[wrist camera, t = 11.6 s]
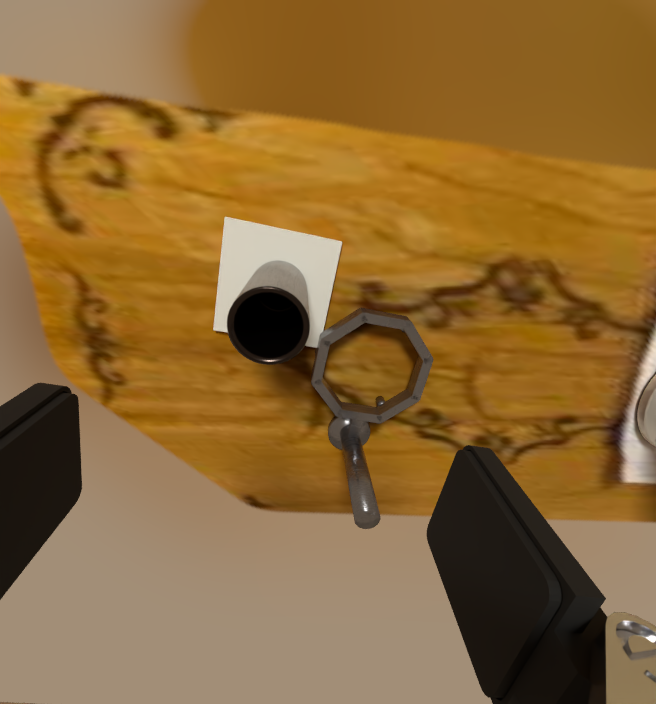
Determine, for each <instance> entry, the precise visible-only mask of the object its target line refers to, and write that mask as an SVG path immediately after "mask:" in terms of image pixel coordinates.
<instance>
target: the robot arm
mask: <svg viewBox="0 0 656 704" xmlns="http://www.w3.org/2000/svg"><path fill="white" fill-rule="evenodd" d="M637 422H638V426H639V430H640V432H641V434H642V435H643V437H644V438H645V439H646V440H647V441H648V442H649V443H650V444H652V445H653V446H655V447H656V375H655V376H654V377H653V378H652V379H651V381H650V382H649V384H648V385H647V387H646V389H645V390H644V392H643V395H642V397H641V400H640V403H639V407H638V412H637ZM81 489H82V478H81V453H80V429H79V405H78V397H77V395H75V394H72V393H71V390H70V388H68V387H67V386H59V385H53V384H46V383H37V384H34V385H33V386H31V387H30V388H28V389H27V390H25V391H23V392H22V393H20V394H19V395H17V396H16V397H14V398H13V399H11V400H10V401H8V402H6V403H5V404H3V405H2V406H0V599H1V598H2V597H3V595H4V594H5V593H6V591H7V590H8V589H9V588H10V587H11V585H12V584H13V583H14V581H15V580H16V579H17V578H18V576H19V575H20V574H21V573H22V571H23V570H24V569H25V567H26V566H27V565H28V564H29V562H30V561H31V560H32V558H33V557H34V556H35V554H36V553H37V552H38V551H39V550H40V548H41V547H42V545H43V544H44V543H45V542H46V541H47V539H48V538H49V537H50V536H51V534H52V533H53V532H54V530H55V529H56V528H57V526H58V525H59V524H60V523H61V522H62V520H63V519H64V518H65V516H66V515H67V514H68V513H69V511H70V510H71V509H72V507H73V506H74V505H75V504H76V502H77V500H78V498H79V496H80V493H81ZM427 540H428V544H429V546H430V549H431V552H432V554H433V557H434V560H435V563H436V565H437V568H438V571H439V574H440V577H441V579H442V582H443V585H444V588H445V590H446V593H447V596H448V599H449V601H450V604H451V607H452V609H453V612H454V615H455V618H456V621H457V623H458V626H459V629H460V631H461V634H462V637H463V640H464V642H465V645H466V648H467V651H468V654H469V656H470V659H471V662H472V665H473V667H474V670H475V673H476V676H477V678H478V681H479V684H480V686H481V688H482V691H483V692H484V694H485V695H486V696H487V697H490V698H491V700H492V703H493V704H656V627H655V626H654V625H653V624H651V623H649V622H647V621H645V620H643V619H641V618H639V617H637V616H634V615H631V614H628V613H625V612H615V613H613V614H611V615H609V616H608V617H607V616H606V615H605V613H604V612H603V611H602V609H601V608H600V607H601V605H602V604H603V602H604V601H605V599H606V598H605V597H604V596H603V594H602V593H601V592H600V590H599V589H598V588H597V586H596V585H595V584H594V582H593V581H592V580H591V579H590V577H589V576H588V575H587V573H586V572H585V571H584V569H583V568H582V567H581V566H580V564H579V563H578V562H577V560H576V559H575V558H574V557H573V555H572V554H571V553H570V551H569V550H568V549H567V547H566V546H565V545H564V543H563V542H562V541H561V539H560V538H559V537H558V536H557V534H556V533H555V532H554V531H553V529H552V528H551V527H550V525H549V524H548V523H547V521H546V520H545V519H544V517H543V516H542V515H541V513H540V512H539V511H538V509H537V508H536V507H535V506H534V504H533V503H532V502H531V500H530V499H529V498H528V496H527V495H526V494H525V493H524V491H523V490H522V489H521V487H520V486H519V485H518V483H517V482H516V481H515V480H514V478H513V477H512V476H511V474H510V473H509V472H508V470H507V469H506V468H505V466H504V465H503V464H502V463H501V461H500V460H499V459H498V457H497V456H496V455H495V453H494V452H493V451H492V450H491V449H489V448H484V447H477V446H470V445H468V446H465V447H464V448H463V450H459V451H458V452H457V453H456V455H455V458H454V461H453V463H452V466H451V468H450V471H449V473H448V476H447V478H446V481H445V484H444V486H443V489H442V491H441V494H440V496H439V499H438V501H437V504H436V507H435V509H434V512H433V514H432V517H431V519H430V522H429V524H428V528H427ZM0 704H33V703H8V702H0Z"/></svg>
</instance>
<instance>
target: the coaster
mask: <svg viewBox="0 0 656 704" xmlns="http://www.w3.org/2000/svg"><path fill="white" fill-rule="evenodd" d="M341 246H342V241H338V240H333V239H328V238H324V237H319V236H314V235H310V234H305V233H300V232H296V231H291V230H286V229H281V228H277V227H272V226H267V225H263V224H258V223H253V222H249V221H244V220H239V219H235V218H230V217H225V221H224V230H223V240H222V250H221V260H220V269H219V279H218V289H217V299H216V309H215V318H214V328H213V330H216V331H221V332H227V333H228V331H227V316H228V312H229V310H230V307H231V305H232V304H233V302H234V301H235V299H236V298H237V296H238V295H239V294H240V292H241V291H242V289H243V288H244V287H245V285H246V284H247V282H248V281H249V279H250V278H251V277H252V275H253V274H254V272H255V271H256V270H257V269H258V268H259V267H260V266H262V265H263V264H265V263H267V262H270V261H276V260H280V261H286V262H289V263H291V264H293V265H294V266H296V267H297V268H298V269H299V270H300V271H301V273H302V274H303V276H304V278H305V281H306V284H307V292H308V304H309V316H310V333H309V337H308V340H307V342H306V344H305V346H309V347H315V348H317V345H318V340H319V336H320V333H322V332H323V330H324V325H325V321H326V316H327V311H328V307H329V302H330V297H331V293H332V288H333V283H334V279H335V274H336V269H337V264H338V260H339V255H340V250H341Z"/></svg>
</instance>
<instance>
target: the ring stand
mask: <svg viewBox="0 0 656 704" xmlns="http://www.w3.org/2000/svg"><path fill="white" fill-rule="evenodd" d="M363 323H369V324H375V325H380V326H386V327H391V328H396V329H401V331H402V332H404V333H405V334H406V335H407V337H408V339H409V340H410V342H411V344H412V345H413V347H414V348H415V350H416V352H417V353H418V358H417V361H416V364H415V367H414V370H413V374H412V377H411V380H410V383H409V386H408V389H406V390H404V391H403V392H401V393H399V394H398V395H396V396H394V397H393V398H391V399H389V400H388V401H386V402H385V400H384V398H383V397H382V396H378V397H377V398H376V403H377V407H371V406H365V405H358V404H352V403H345V402H341V401H340V400H339V398H338V397H337V396H336V394H335V393H334V392H333V390H332V389H331V388H330V386H329V385H328V384H327V382H326V381H325V380H324V378H323V373H324V368H325V364H326V359H327V355H328V350H329V346H330V344H332V343H334V342H335V341H337V340H338V339H340V338H341V337H343V336H345V335H346V334H348V333H349V332H351V331H352V330H354V329H356V328H357V327H359V326H360V325H362V324H363ZM432 362H433V357H432V356H431V354H430V352H429V351H428V349H427V347H426V345H425V344H424V342H423V340H422V339H421V337H420V335H419V334H418V332H417V330H416V329H415V327H414V325H413V323H412V322H411V321H410V320H409V319H408V318H407V317H406V316H402V315H396V314H391V313H386V312H381V311H375V310H370V309H365V308H361V309H360V308H359V309H358V310H356V311H355V312H353V313H351V314H350V315H348V316H347V317H345V318H344V319H342V320H341V321H339V322H337V323H336V324H334V325H333V326H331V327H330V328H328V329H327V330H325V331H324V332H322V333H320V336H319V340H318V345H317V348H316V349H315V359H314V364H313V369H312V374H311V383H312V385H313V386H314V388H315V389H316V390H317V392H318V393H319V394H320V396H321V397H322V398H323V400H324V401H325V402H326V404H327V405H328V406H329V407H330V409H331V410H332V411H333V413H334V414H335V415H336V416H335V417H334V418H333V419H332V420H331V422H330V424H329V427H328V435H329V440H330V442H331V443H332V444H333V445H334V446H335V447H336V448H338V449H341V450H343V455H344V461H345V467H346V473H347V479H348V485H349V491H350V497H351V503H352V508H353V514H354V520H355V524H356V525H357V526H358V527H360V528H363V529H369V528H373V527H375V526H376V525H377V524H378V523H379V521H380V514H379V510H378V506H377V502H376V498H375V494H374V490H373V486H372V482H371V478H370V474H369V470H368V466H367V463H366V459H365V455H364V451H363V447H362V446H363V445H364V444H365V443H366V442H367V440H368V438H369V436H370V428H369V424H368V422H373V423H382V422H384V421H386V420H388V419H389V418H391V417H393V416H394V415H396V414H398V413H399V412H401V411H403V410H405V409H406V408H408V407H410V406H411V405H413V404H415V403H417V402H418V401H419V400H420V398H421V395H422V392H423V389H424V386H425V383H426V380H427V377H428V374H429V371H430V368H431V365H432Z"/></svg>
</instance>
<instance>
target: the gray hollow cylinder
mask: <svg viewBox="0 0 656 704" xmlns="http://www.w3.org/2000/svg"><path fill="white" fill-rule="evenodd" d="M227 331H228V335H229V338H230V340H231V342H232V344H233V345H234V347H235V348H236V349H237V351H238V352H239V353H241V354H242V355H243V356H244V357H246V358H247V359H249V360H251V361H253V362H256V363H260V364H266V365H273V364H280V363H283V362H286V361H288V360H290V359H292V358H294V357H295V356H296V355H297V354H298V353H300V351H301V350H302V349H303V348H304V346H305V344H306V342H307V340H308V337H309V333H310V316H309V304H308V292H307V284H306V281H305V278H304V276H303V274H302V273H301V271H300V270H299V269H298V268H297V267H296V266H294V265H293V264H291V263H289V262H286V261H280V260H276V261H270V262H267V263H265V264H263V265H262V266H260V267H259V268H258V269H257V270H256V271H255V272H254V274H253V275H252V277H251V278H250V279H249V281H248V282H247V284H246V285H245V287H244V288H243V289H242V291H241V292H240V294H239V295H238V296H237V298H236V299H235V301H234V302H233V304H232V305H231V307H230V310H229V312H228V316H227Z"/></svg>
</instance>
